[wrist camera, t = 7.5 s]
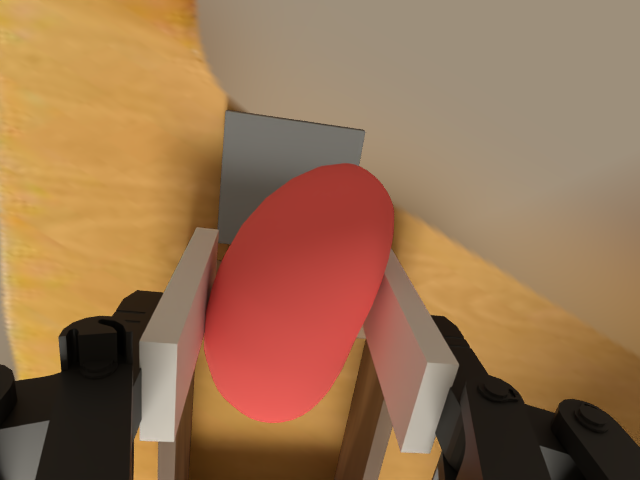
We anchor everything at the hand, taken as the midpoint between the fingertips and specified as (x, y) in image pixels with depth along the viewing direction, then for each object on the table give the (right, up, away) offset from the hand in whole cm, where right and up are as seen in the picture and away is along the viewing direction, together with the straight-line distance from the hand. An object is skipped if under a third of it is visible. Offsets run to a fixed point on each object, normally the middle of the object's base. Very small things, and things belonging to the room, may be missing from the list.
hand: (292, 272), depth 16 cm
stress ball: (0, 0, +1) cm, 1 cm away
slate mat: (-1, +5, +11) cm, 12 cm away
